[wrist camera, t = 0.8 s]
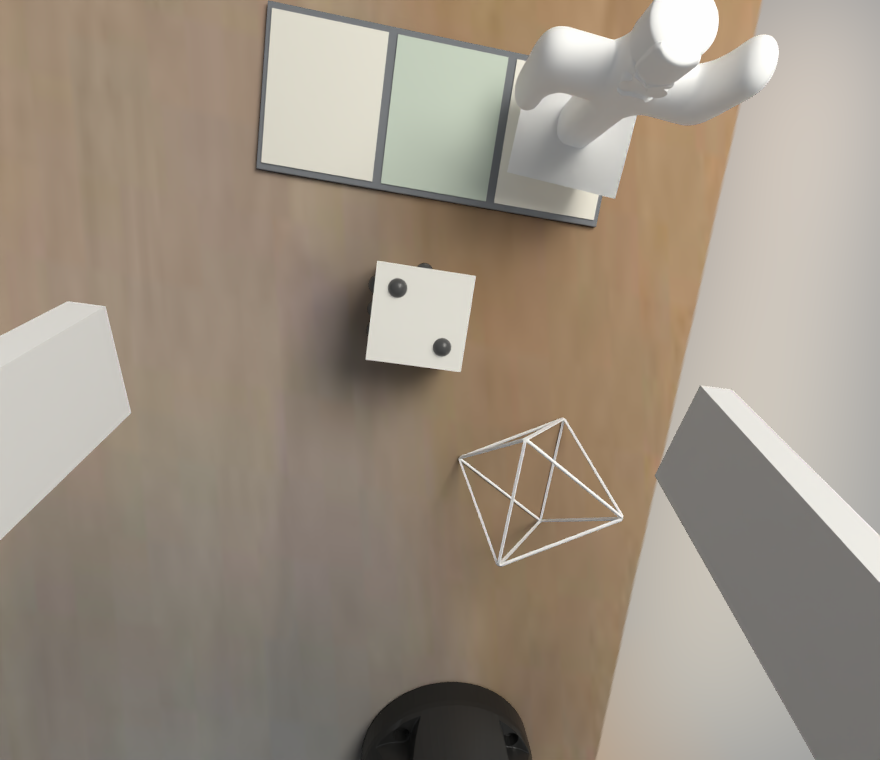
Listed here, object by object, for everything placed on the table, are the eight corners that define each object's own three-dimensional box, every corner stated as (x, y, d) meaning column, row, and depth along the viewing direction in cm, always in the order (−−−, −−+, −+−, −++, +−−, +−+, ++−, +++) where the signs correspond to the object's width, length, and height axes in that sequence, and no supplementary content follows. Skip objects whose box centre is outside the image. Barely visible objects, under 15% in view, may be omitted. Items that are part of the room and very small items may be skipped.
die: (450, 357, 35) (461, 373, 29) (365, 345, 34) (357, 359, 28) (464, 271, 34) (478, 268, 28) (376, 257, 33) (370, 251, 27)
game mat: (594, 227, 34) (596, 226, 34) (257, 169, 31) (256, 167, 31) (624, 77, 32) (627, 75, 32) (269, 3, 29) (267, -1, 29)
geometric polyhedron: (447, 508, 38) (459, 564, 30) (468, 402, 36) (486, 433, 29) (568, 524, 39) (607, 580, 31) (594, 421, 37) (642, 456, 30)
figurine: (503, 68, 31) (595, -127, 16) (634, 104, 32) (829, -48, 17) (480, 180, 32) (545, 94, 18) (606, 211, 33) (766, 153, 19)
